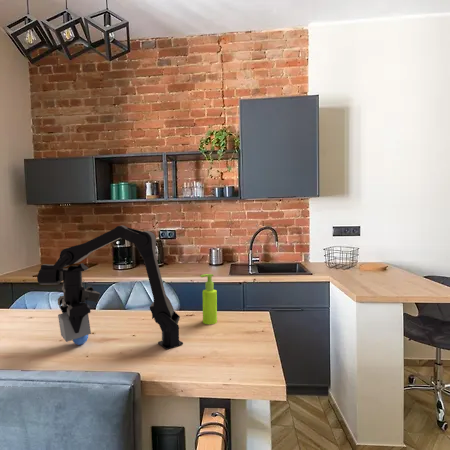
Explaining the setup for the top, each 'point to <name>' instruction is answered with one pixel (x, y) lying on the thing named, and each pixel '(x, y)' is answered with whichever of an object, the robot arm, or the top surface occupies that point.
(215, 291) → the soap dispenser
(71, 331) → the gray rectangular platform
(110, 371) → the top surface
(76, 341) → the ball
